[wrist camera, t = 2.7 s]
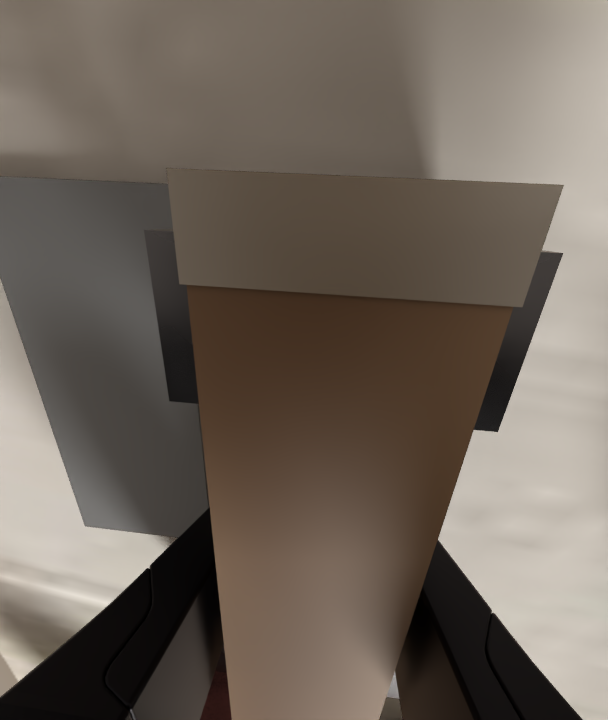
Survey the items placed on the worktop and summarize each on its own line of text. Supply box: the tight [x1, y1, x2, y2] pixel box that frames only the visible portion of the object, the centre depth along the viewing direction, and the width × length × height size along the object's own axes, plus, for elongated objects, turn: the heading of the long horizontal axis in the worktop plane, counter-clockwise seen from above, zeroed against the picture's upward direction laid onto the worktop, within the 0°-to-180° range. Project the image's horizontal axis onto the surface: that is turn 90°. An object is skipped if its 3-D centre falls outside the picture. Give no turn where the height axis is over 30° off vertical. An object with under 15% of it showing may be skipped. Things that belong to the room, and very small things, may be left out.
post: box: [144, 229, 563, 432], centre depth 8 cm, size 6×3×6 cm, turn 87°
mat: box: [0, 176, 210, 538], centre depth 12 cm, size 6×15×1 cm, turn 177°
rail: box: [166, 168, 564, 720], centre depth 7 cm, size 3×14×3 cm, turn 177°
